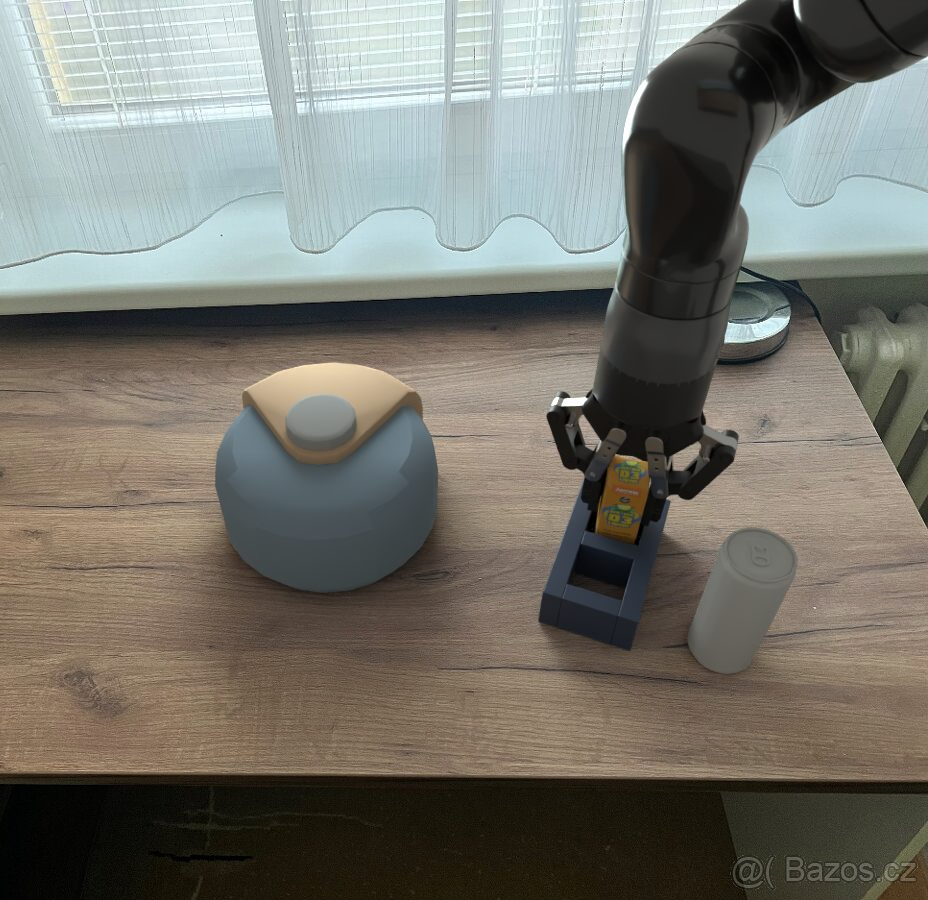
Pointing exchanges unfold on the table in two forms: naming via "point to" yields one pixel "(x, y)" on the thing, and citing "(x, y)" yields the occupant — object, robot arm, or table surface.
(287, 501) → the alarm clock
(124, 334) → the table surface
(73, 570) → the table surface
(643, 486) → the supplement box
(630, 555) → the holder
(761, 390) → the table surface
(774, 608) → the beverage can
